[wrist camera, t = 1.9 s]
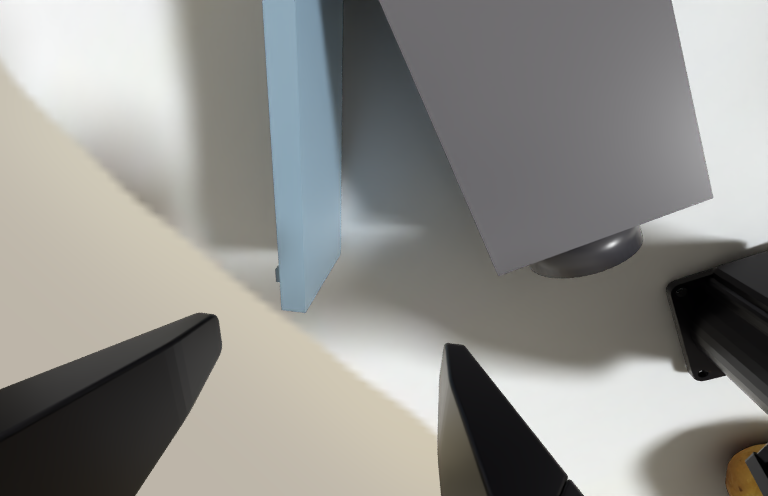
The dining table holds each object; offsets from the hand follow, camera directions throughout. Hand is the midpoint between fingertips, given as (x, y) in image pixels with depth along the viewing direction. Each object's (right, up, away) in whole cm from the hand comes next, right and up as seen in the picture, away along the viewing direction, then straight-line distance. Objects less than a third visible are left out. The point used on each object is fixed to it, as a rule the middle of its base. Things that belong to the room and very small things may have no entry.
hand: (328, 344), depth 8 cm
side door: (-2, +9, +9) cm, 13 cm away
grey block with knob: (+6, +11, +8) cm, 15 cm away
